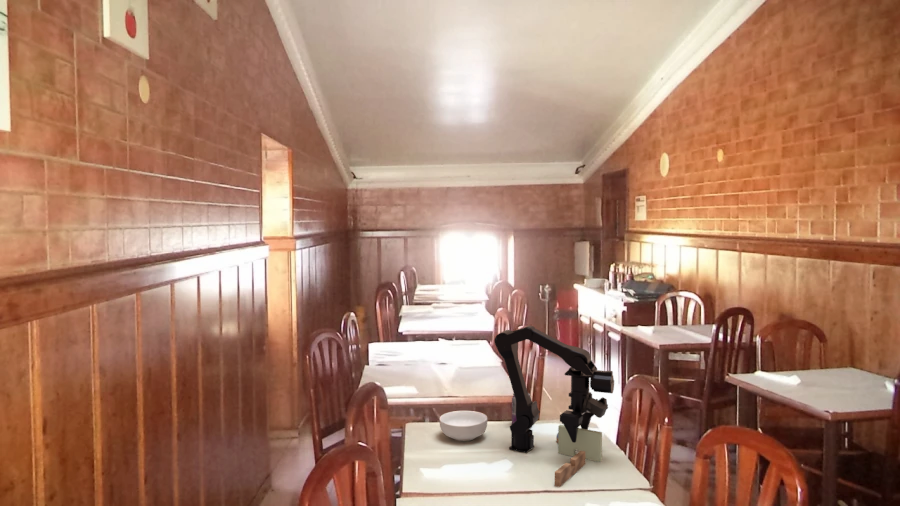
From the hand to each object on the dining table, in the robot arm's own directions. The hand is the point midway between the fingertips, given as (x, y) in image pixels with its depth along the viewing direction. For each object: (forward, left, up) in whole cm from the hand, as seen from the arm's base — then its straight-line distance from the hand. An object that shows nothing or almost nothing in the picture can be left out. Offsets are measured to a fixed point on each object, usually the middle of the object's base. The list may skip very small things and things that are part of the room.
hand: (579, 438), depth 208 cm
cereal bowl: (-41, -4, -6) cm, 42 cm away
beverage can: (-29, +17, -6) cm, 34 cm away
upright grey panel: (0, 0, -6) cm, 6 cm away
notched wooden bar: (+3, -15, -6) cm, 16 cm away
